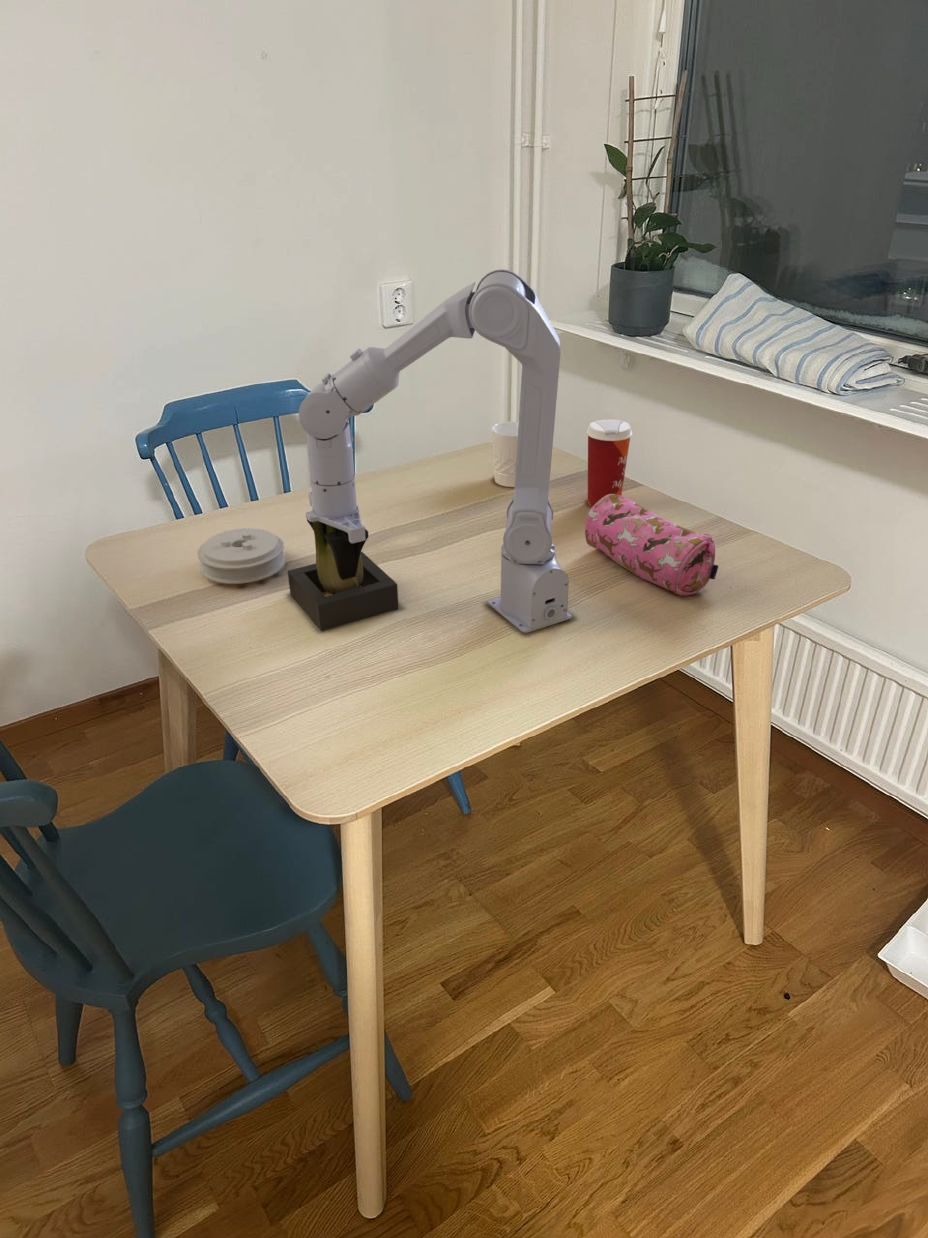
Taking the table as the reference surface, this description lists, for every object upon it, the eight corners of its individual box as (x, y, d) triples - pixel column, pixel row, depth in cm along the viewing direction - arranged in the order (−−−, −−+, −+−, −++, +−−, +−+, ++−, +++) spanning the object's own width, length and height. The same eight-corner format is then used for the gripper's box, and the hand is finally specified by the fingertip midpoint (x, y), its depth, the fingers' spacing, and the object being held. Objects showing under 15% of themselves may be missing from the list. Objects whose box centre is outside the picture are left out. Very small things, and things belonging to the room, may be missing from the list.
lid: (261, 594, 128) (257, 563, 125) (184, 582, 131) (178, 552, 128) (300, 556, 138) (297, 527, 136) (228, 546, 141) (223, 517, 139)
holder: (398, 609, 124) (397, 583, 122) (320, 631, 119) (318, 605, 117) (364, 575, 132) (362, 551, 130) (290, 595, 127) (287, 570, 125)
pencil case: (721, 588, 128) (730, 532, 124) (675, 606, 124) (683, 549, 119) (618, 536, 143) (623, 484, 139) (574, 551, 139) (578, 498, 134)
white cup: (488, 487, 161) (488, 434, 156) (494, 471, 168) (494, 420, 163) (531, 489, 160) (533, 436, 155) (535, 473, 167) (537, 422, 162)
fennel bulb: (316, 597, 123) (308, 518, 117) (329, 581, 127) (321, 503, 121) (356, 601, 122) (350, 522, 116) (367, 585, 126) (362, 507, 120)
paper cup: (629, 512, 151) (636, 432, 144) (584, 512, 152) (589, 432, 144) (622, 494, 158) (629, 417, 151) (579, 494, 158) (584, 417, 151)
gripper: (284, 466, 120) (294, 556, 127) (325, 503, 109) (334, 599, 116) (332, 456, 123) (340, 545, 130) (377, 491, 112) (383, 586, 119)
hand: (340, 570), depth 123 cm, fingers closed on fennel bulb, 4 cm apart
